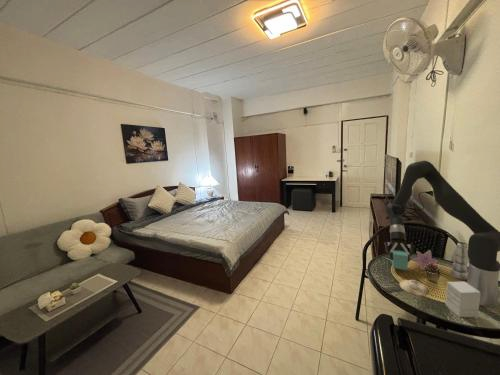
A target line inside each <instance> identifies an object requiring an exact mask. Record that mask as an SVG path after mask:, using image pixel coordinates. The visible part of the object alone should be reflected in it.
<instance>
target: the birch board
mask: <svg viewBox="0 0 500 375" xmlns="http://www.w3.org/2000/svg"><path fill="white" fill-rule="evenodd" d="M410 280H411V279H402V280H401V281H399V287H400V288H401V289H402V290H403V291H405V292H407V293H409V294H412V295H414V296H415V295H416V296H427V295H429V294H430V290H429V288H428V287H427V286H426V285H425V284H423V283H421V282H419V288H418V289H417V290H415V289H412V288H410Z"/></svg>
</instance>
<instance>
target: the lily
mask: <svg viewBox="0 0 500 375" xmlns="http://www.w3.org/2000/svg"><path fill="white" fill-rule="evenodd" d="M416 254H417V257H414V258H413V259H411V261H412V262H413V263H416V264H419V265H420V271H421V270H422V271H423V270H425V269H426V268H425V265H426V264H429V263H433V265H434V264H437V263H438V262H439V260H437V259H435V258H432V251H431V249H429V250H427V251H426V252H424V253H421V251H418V250H416Z"/></svg>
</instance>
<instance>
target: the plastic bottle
mask: <svg viewBox="0 0 500 375" xmlns="http://www.w3.org/2000/svg"><path fill="white" fill-rule="evenodd" d="M456 246H457V247H455V248H453V251H452V254H453V258H452V259H453V263H452V265H451V266H452V267H451V269H450V275H451V277H453V278H455V279H457V280H461V281H467V276H468V265H469V258H468V243H466V242H463V241H457V243H456Z"/></svg>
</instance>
